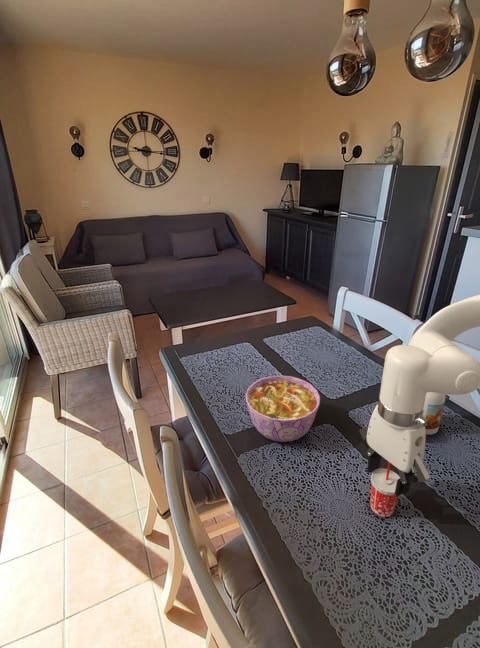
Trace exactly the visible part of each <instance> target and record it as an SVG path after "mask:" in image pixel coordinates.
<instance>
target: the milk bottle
mask: <svg viewBox="0 0 480 648" xmlns="http://www.w3.org/2000/svg"><path fill="white" fill-rule="evenodd" d="M445 402H446V394H442V393H433V392H428V393H427V394H426V398H425V403H424V407H423V410H424V412H423V417H424V418H425V419H427V420H428V423H427V425H426V426H425V432H426V436H428V435H429V436H430V435H434V434H437V433H438V431H439V428H440V424H441V421H442V415H443V411H444V407H445Z"/></svg>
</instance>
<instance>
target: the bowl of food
mask: <svg viewBox="0 0 480 648" xmlns="http://www.w3.org/2000/svg"><path fill="white" fill-rule="evenodd" d="M244 397H245V402H246V407H247V409H248V412H249V416H250V419H251V421H252V423H253V426H254V427H255V429H256V430H257V431H258V433H260V434H261V435H262V436H263V437H265V438H266V439H269V440H271V441H274V442H278V443H279V442H281V443H288V442H289V443H290V442H293V441H296V440H298V439H301V438H302V437H303V436H305V435H306V434H307V433H308V432H309V430H310V429H311V427H312V425H313V423H314V420H315V418H316V416H317V412H318V411H319V407H320V404H321V396H320V394H319V391H318V389H317V388H315V386H313V385H312V384H311V383H309V382H308V381H306V380H304V379H301V378H298V377H296V376H292V375H282V374H281V375H270V376H266V377H262V378H260V379H258V380H256V381H254V382H253V383H252V384H251V385H250V386H249V387H248V388H247V390H246V392H245V395H244Z"/></svg>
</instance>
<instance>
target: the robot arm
mask: <svg viewBox="0 0 480 648" xmlns="http://www.w3.org/2000/svg"><path fill="white" fill-rule="evenodd" d="M479 327H480V294H477V295H473V296H470V297H467V298H464V299H461V300H460V301H456V302H454V303H451V304H449V305H447V306H445V307H443V308H441V309H440V310H438V311H437V312H436V313H434V314H433V315H432V316H431V317H430V318H429V319H428V320H426V322H424V323H423V324H422V325H421V326H420V327H419V328H418V329H417V330H416V331H415V333H414V334H413V335H412V337H411V338H410V339H409V341H408V344H397V345H394V346H391V348H389V349H388V350H387V352H386V354H385V358H384V364H383V372H382V377H381V383H380V391H379V397H378V403H377V404H376V406H375V407H374V410H373V411H372V413H371V416H370V419H369V424H368V426H365V427H364V426H363V427H362V428H360V429H359V430H358V431H359V434H360V436H361V438H362V440H363V444H364V446H365V448H366V451H365V452H366V455H367V456H368V458H367V469H366V470H367V472H368V473H369V474H372V472H373V471H374V470H376V469H380V467H381V462H382V458H383V459H384V460H386V461H387V462H388V463H389V462H390V463H391V465H393V466H394V467H395V468H397V470H398V476H399V477H400V479H398V480H397V484H396V489H395V495H396V496H397V497H398V498H399V497H400V496H401V495H406V494H407V493H408V492H409V491H410V487H411V484H414V483H425V482H427V481H429V480H430V479H431V476H430V474H429V472H428V470H427V468H426V466H425V464H424V463H423V461H424V457H425V451H426V439H427V438H426V436H427V434H426V432H425V426H426V425H427V423H428V420H427V419H425V418H424V417H423V412H424V410H423V407H424V403H425V398H426V394H427V393H428V392H433V393H442V394H445V395H455V396H458V395H461V396H462V395H467V394H471V393H473V392H475V391H476V390H479V388H480V362H479V360H478V359H476V358H475V357H474V356H472V355H471V354H470V353H469V352H467V351H466V350H464V349H463V348H461V347H460V346H459V345H457V344H456V343H454V342H453V341H454V340H455V339H456V338H457V337H459V336H460V335H462V334H463V333H464V332H467V331H469V330H472V329H474V328H479ZM415 471H416V472H415Z"/></svg>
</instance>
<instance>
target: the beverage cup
mask: <svg viewBox="0 0 480 648" xmlns="http://www.w3.org/2000/svg"><path fill="white" fill-rule="evenodd" d="M391 466H392V464H391V463H390V462H389V461H388V463H387V468H383V467H382V468H380V467H379V468H378V469H376V470H374V471H373V472H371V475H370V482H371V485H370V502H369V505H370V509H371V510H372V511H373V512H374V513H375V514H376V515H377V516H379V517H382V518H384V517H385V518H388V517H391V516H392V515H393V514H394V511H395V508H396V505H397V502H398V499H399V496H398V497H397V496H396V495H395V489H396V484H397V480H398V479H400V475H399V473H398V474H397V472H395V471H394V470H391Z"/></svg>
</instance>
